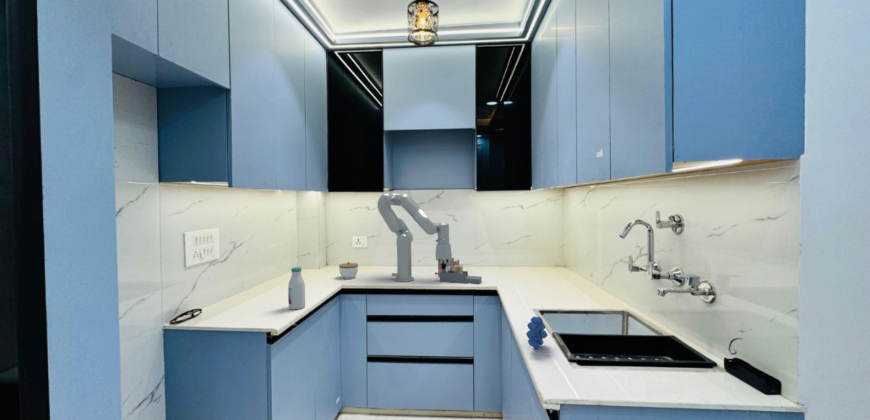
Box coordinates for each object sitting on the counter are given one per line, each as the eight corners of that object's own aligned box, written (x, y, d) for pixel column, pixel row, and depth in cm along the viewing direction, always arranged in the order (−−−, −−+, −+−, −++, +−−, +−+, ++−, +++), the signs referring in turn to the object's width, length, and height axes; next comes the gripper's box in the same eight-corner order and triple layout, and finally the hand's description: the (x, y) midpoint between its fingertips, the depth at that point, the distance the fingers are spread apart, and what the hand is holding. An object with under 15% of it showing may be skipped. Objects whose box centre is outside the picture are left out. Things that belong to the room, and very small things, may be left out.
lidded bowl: (360, 275, 248) (359, 260, 247) (355, 280, 235) (355, 263, 235) (342, 275, 248) (341, 260, 247) (336, 280, 235) (336, 263, 235)
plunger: (433, 275, 232) (433, 266, 231) (436, 273, 237) (436, 264, 237) (447, 276, 229) (447, 267, 229) (449, 274, 235) (449, 265, 235)
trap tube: (439, 281, 229) (439, 272, 229) (442, 278, 238) (442, 269, 237) (479, 284, 222) (479, 274, 222) (481, 281, 231) (481, 271, 230)
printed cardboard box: (452, 271, 263) (451, 254, 262) (459, 272, 260) (459, 255, 259) (438, 276, 244) (438, 259, 244) (446, 277, 241) (446, 259, 241)
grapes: (539, 357, 120) (540, 322, 120) (521, 351, 125) (522, 318, 124) (554, 346, 129) (554, 314, 128) (537, 341, 133) (537, 310, 133)
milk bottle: (307, 305, 180) (306, 266, 179) (301, 310, 172) (301, 269, 171) (292, 305, 180) (291, 266, 179) (285, 310, 172) (285, 269, 171)
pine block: (453, 277, 228) (453, 266, 228) (455, 275, 233) (455, 265, 233) (461, 277, 227) (461, 266, 227) (462, 276, 232) (462, 265, 232)
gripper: (431, 242, 230) (431, 270, 231) (453, 242, 227) (453, 271, 227) (434, 240, 238) (434, 267, 238) (455, 241, 234) (456, 268, 234)
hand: (443, 269), depth 233 cm, fingers closed
